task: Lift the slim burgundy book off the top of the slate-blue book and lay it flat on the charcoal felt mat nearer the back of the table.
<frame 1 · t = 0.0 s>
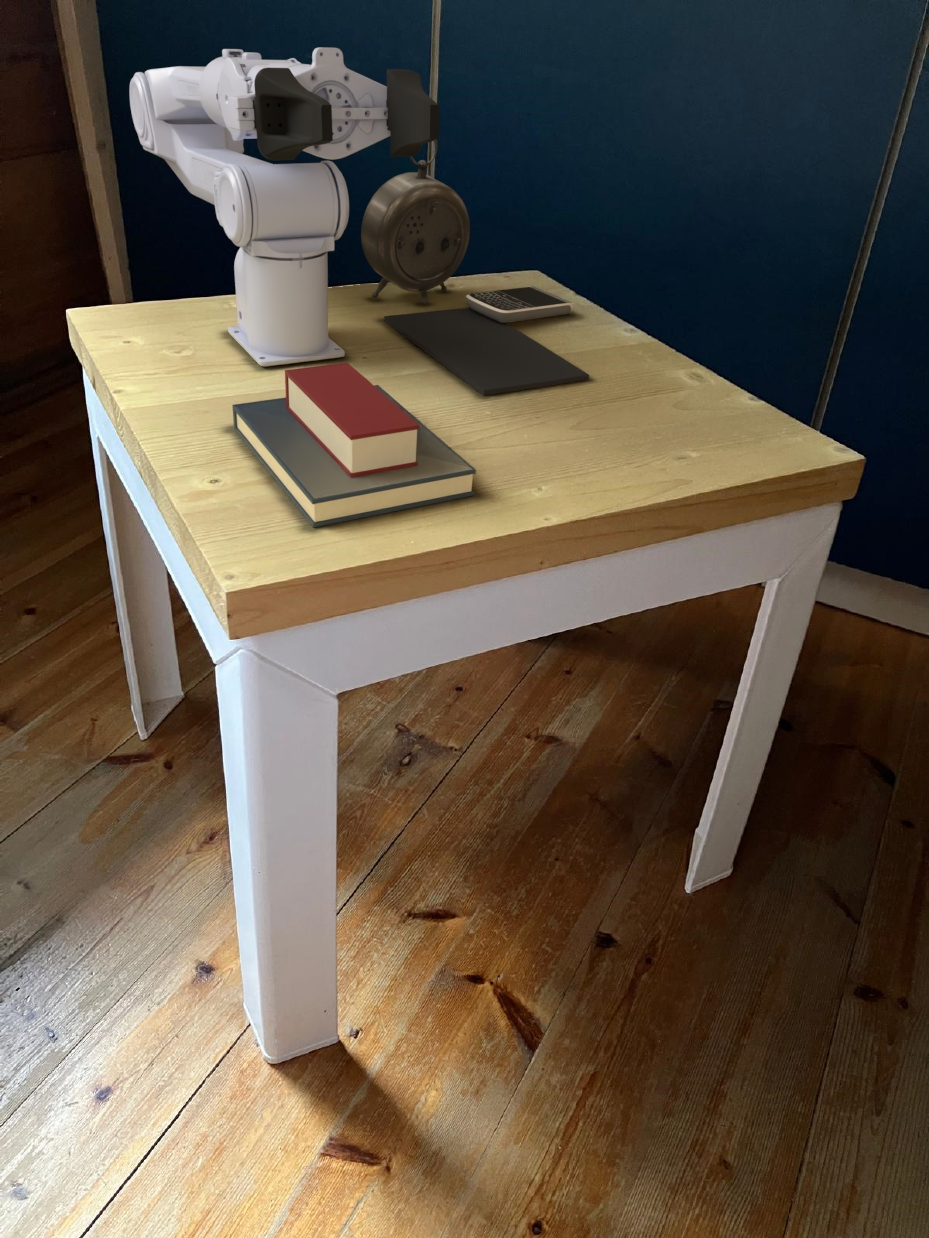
hand: (382, 122, 64), 22 cm above the table, tool horizontal, fingers open, 7 cm apart
mat: (481, 349, 93), on the table
bottom book: (349, 461, 72), on the table, touching top book
top book: (349, 436, 70), point 2 cm above the table, touching bottom book
alarm clock: (415, 300, 104), on the table
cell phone: (518, 313, 102), on the table, touching mat
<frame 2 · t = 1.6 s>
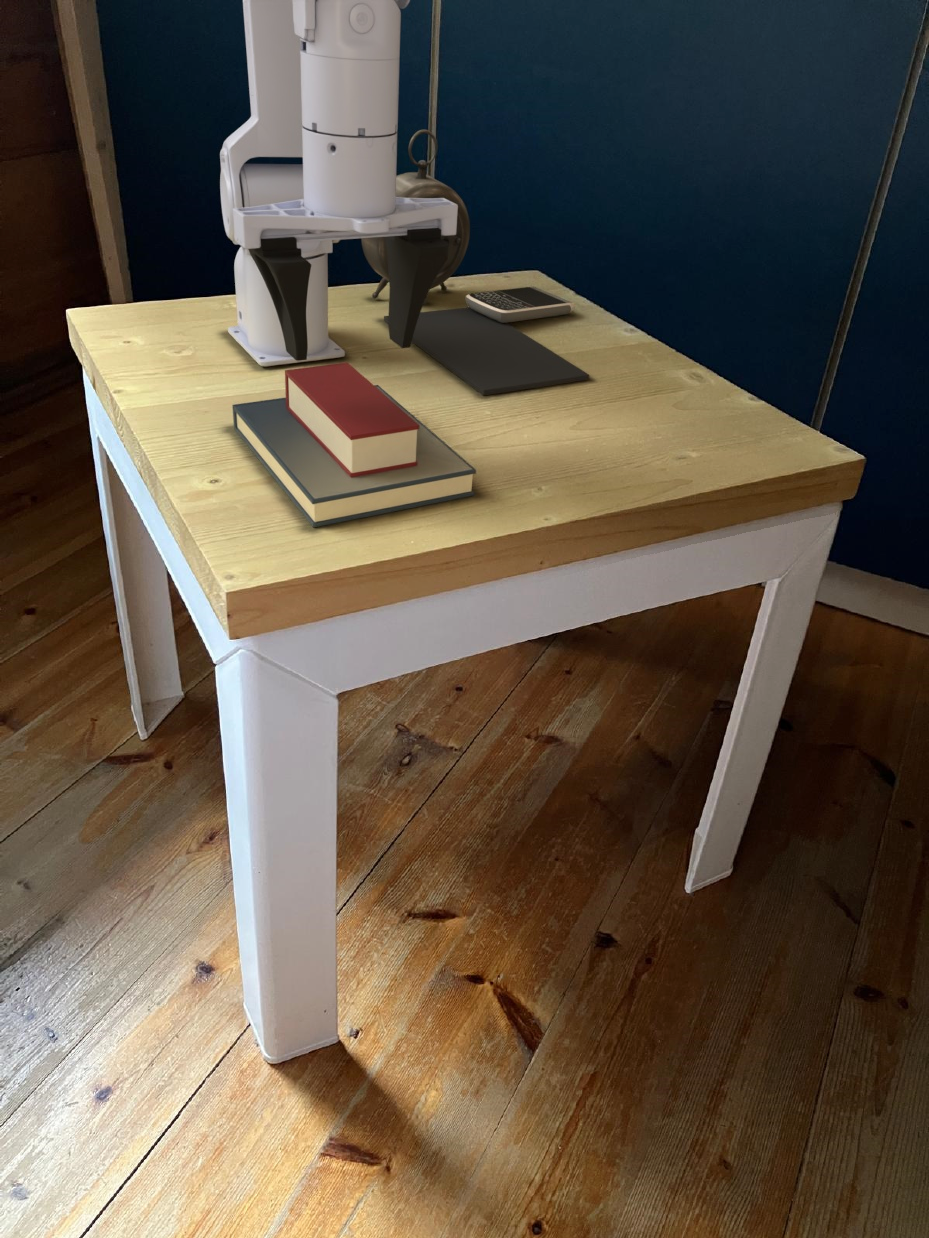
hand: (349, 349, 67), 8 cm above the table, tool pointing down, fingers open, 7 cm apart
nothing on the table moved.
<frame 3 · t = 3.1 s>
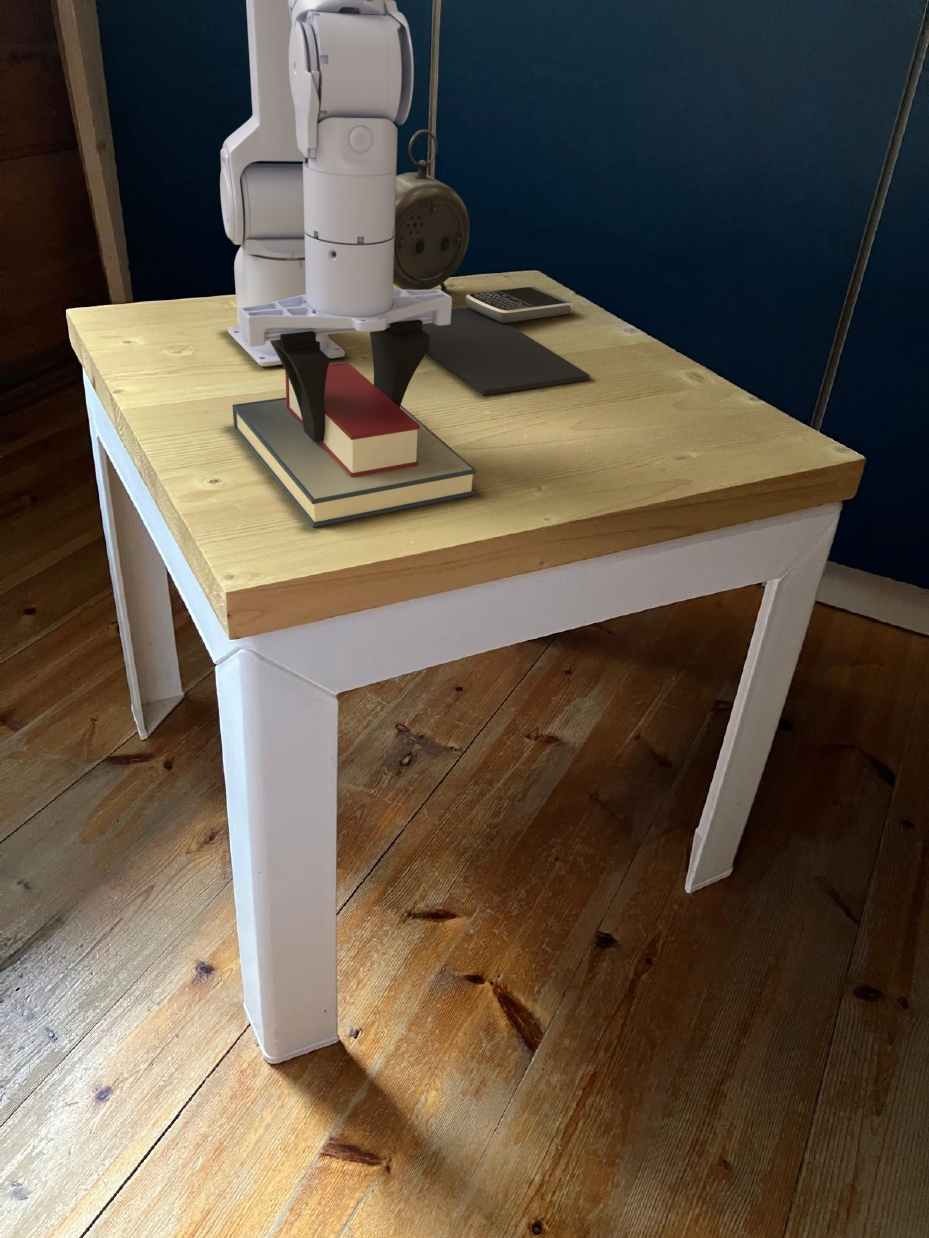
hand: (349, 430, 70), 2 cm above the table, tool pointing down, fingers closed on top book, 5 cm apart
top book: (349, 436, 70), point 2 cm above the table, touching bottom book, gripper
everything else where it was.
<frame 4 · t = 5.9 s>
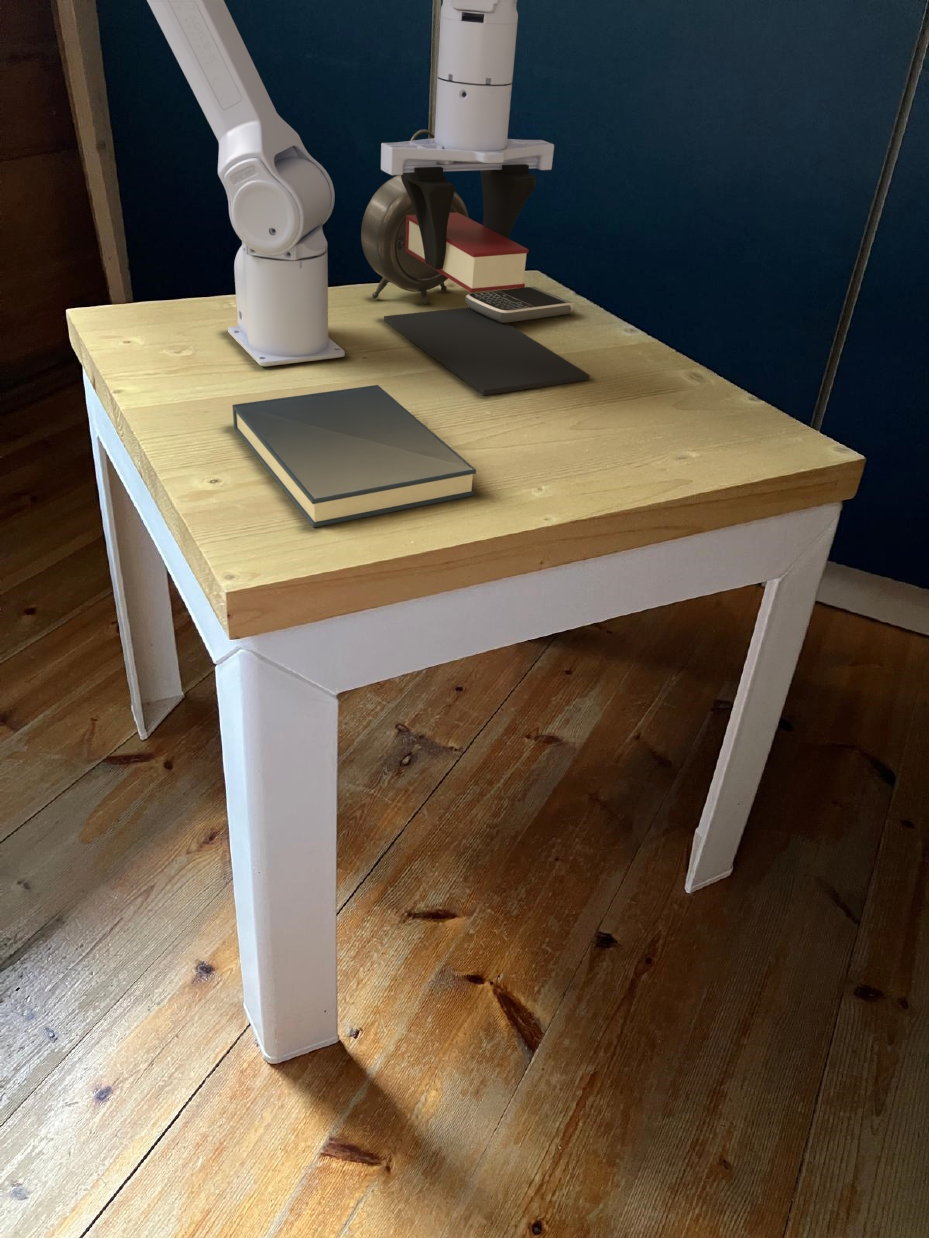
hand: (462, 263, 82), 9 cm above the table, tool pointing down, fingers closed on top book, 5 cm apart
bottom book: (349, 461, 72), on the table
top book: (462, 268, 82), point 9 cm above the table, touching gripper
everything else where it was.
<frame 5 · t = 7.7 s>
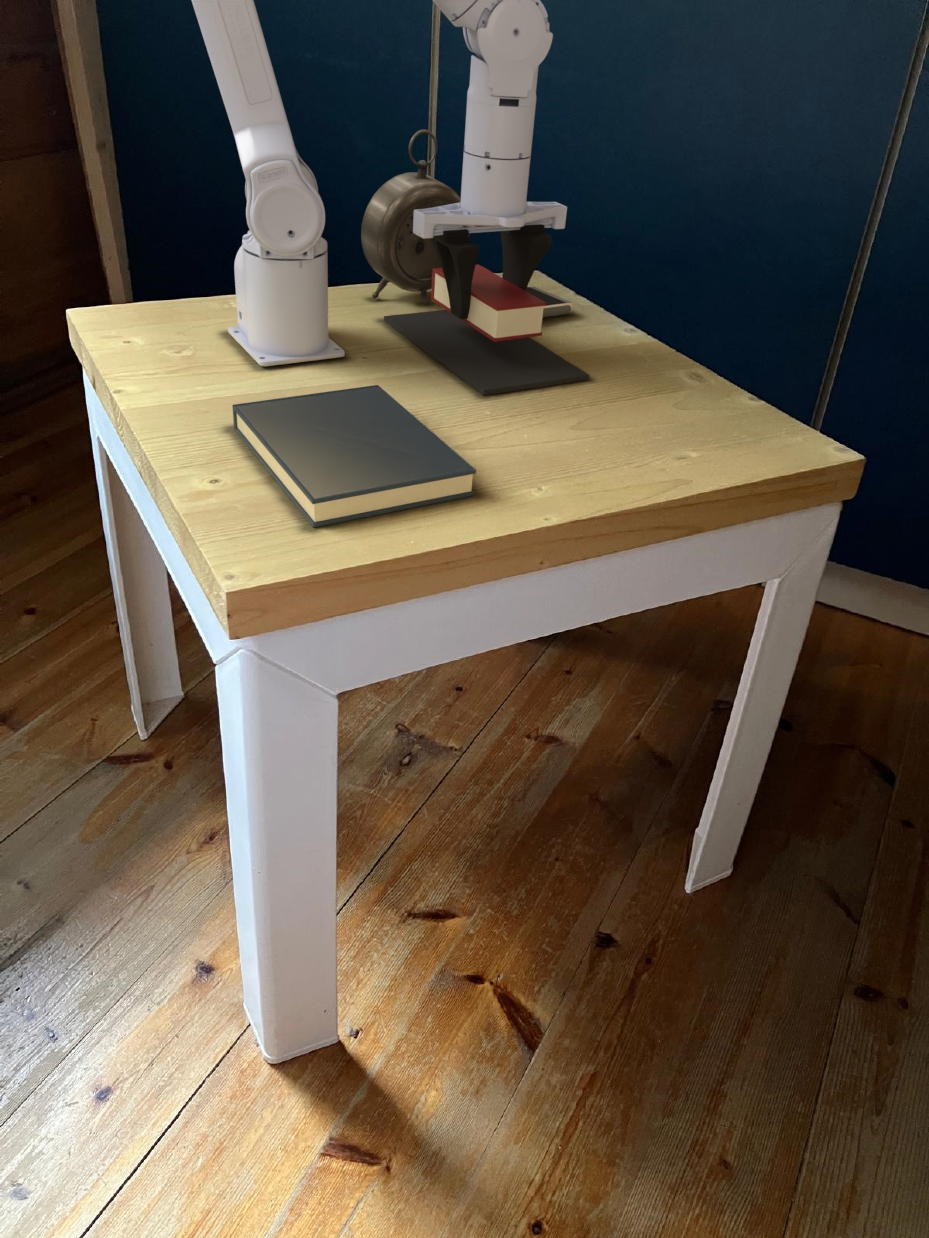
hand: (484, 313, 91), 3 cm above the table, tool pointing down, fingers closed on top book, 5 cm apart
top book: (484, 317, 91), point 3 cm above the table, touching gripper
everything else where it was.
when the fingers open (1 cm above the table, at t = 9.0 s): top book stays where it is, resting on mat.
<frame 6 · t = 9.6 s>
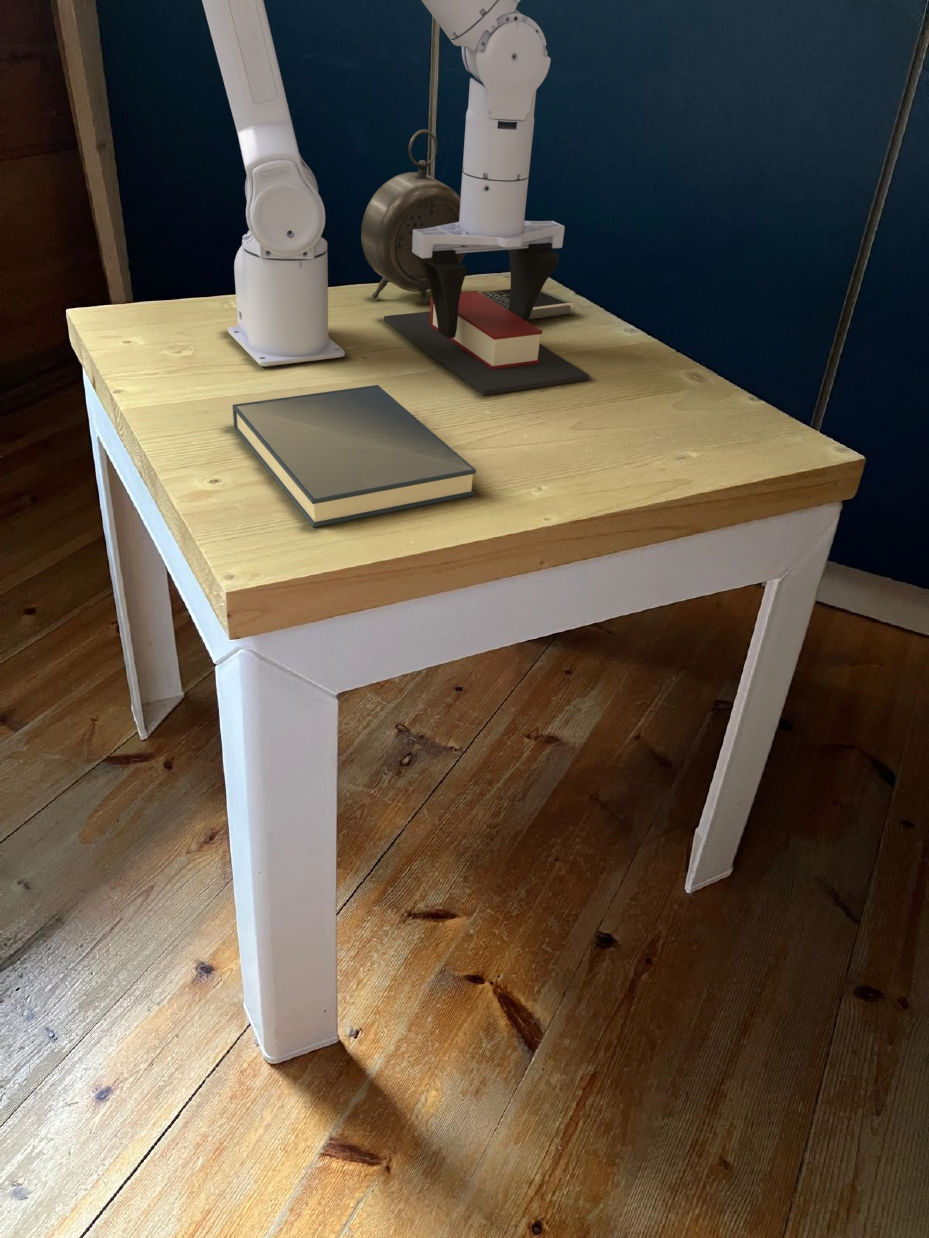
hand: (482, 330, 92), 2 cm above the table, tool pointing down, fingers open, 7 cm apart
top book: (482, 344, 92), resting on mat
everything else where it was.
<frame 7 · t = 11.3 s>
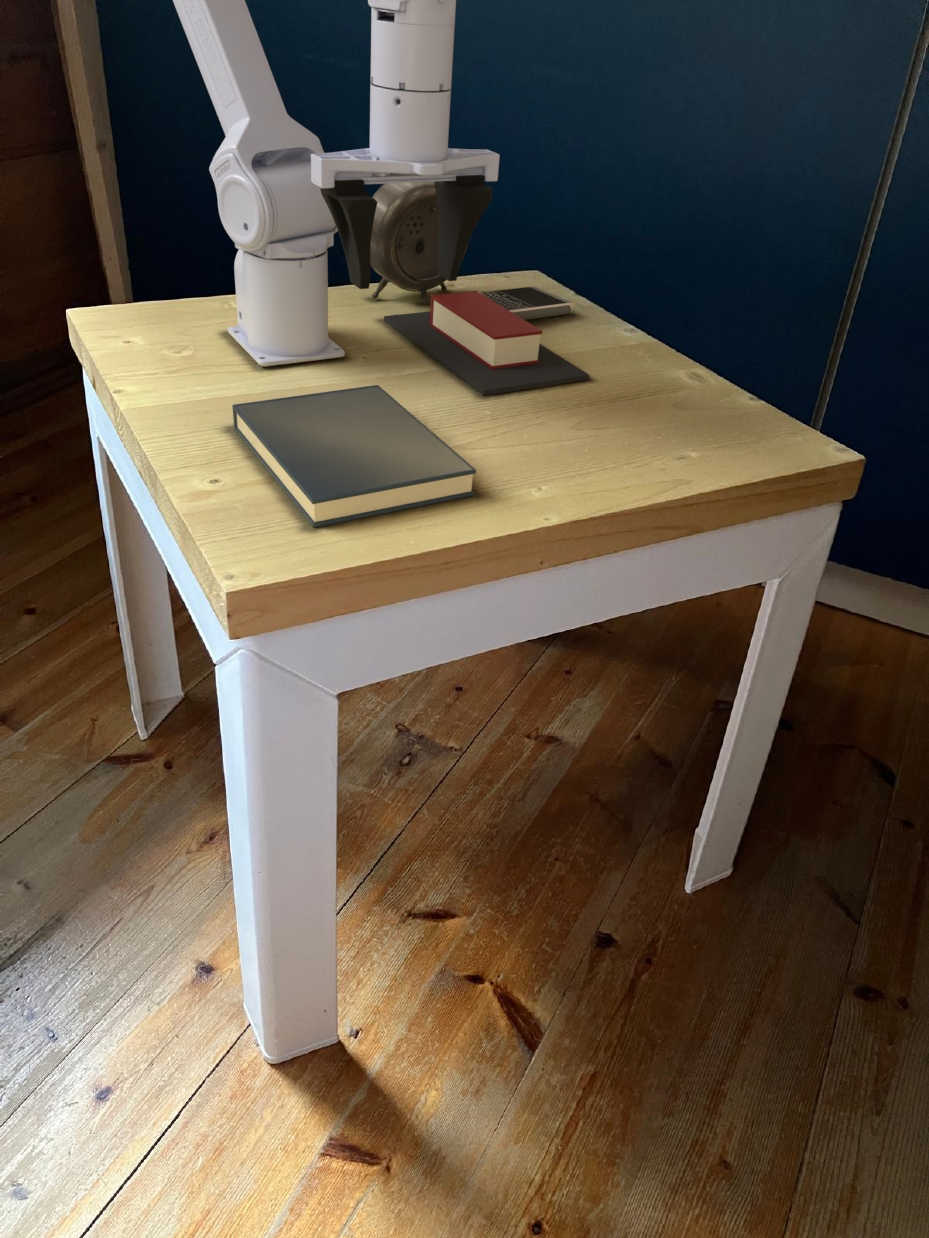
hand: (404, 281, 77), 9 cm above the table, tool pointing down, fingers open, 7 cm apart
nothing on the table moved.
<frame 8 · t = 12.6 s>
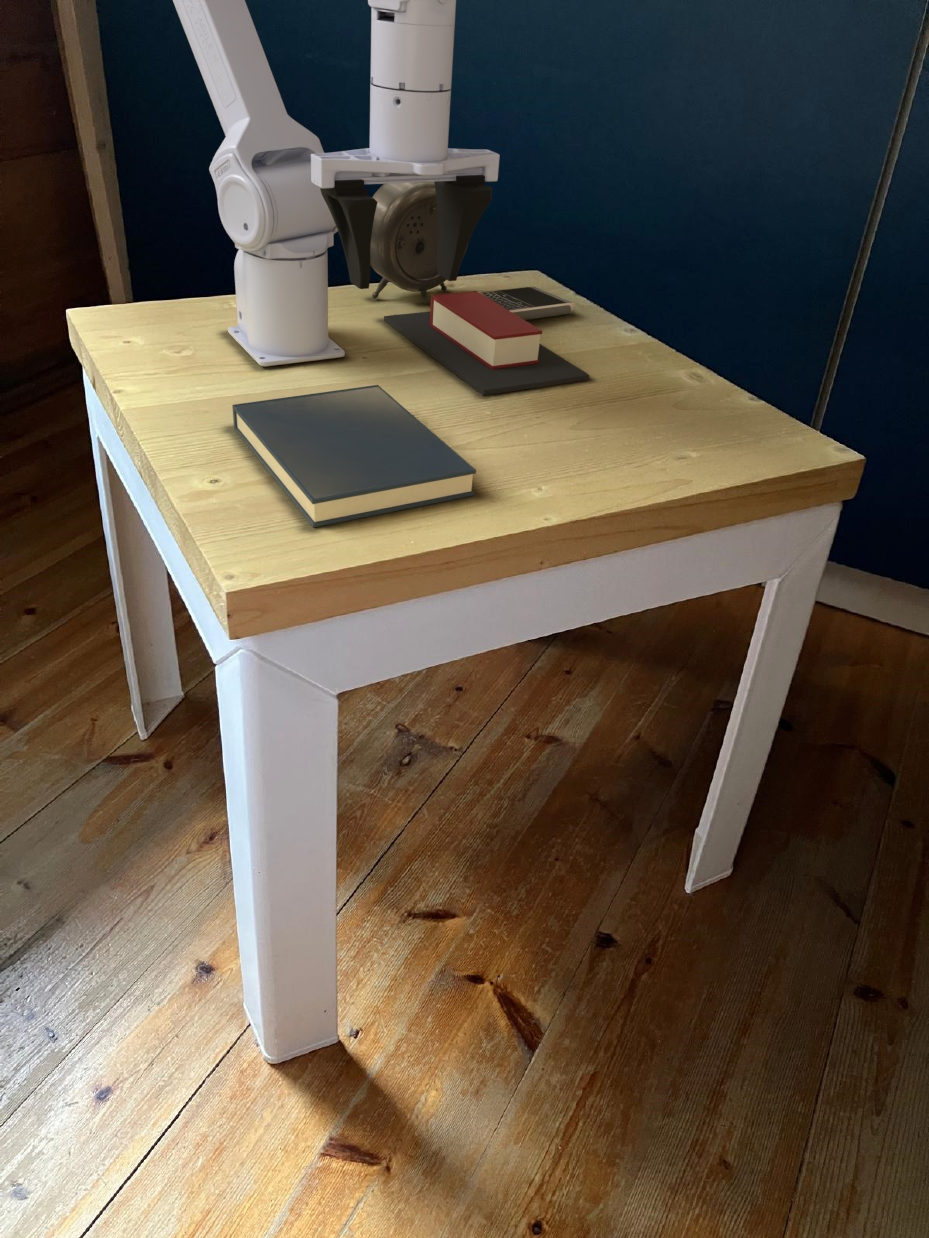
hand: (404, 281, 77), 9 cm above the table, tool pointing down, fingers open, 7 cm apart
nothing on the table moved.
at the end: top book inside the target area on the mat (0.1 cm from its centre), point 0.5 cm above the mat's base; top book touching mat; bottom book moved 0.0 cm from its start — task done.
